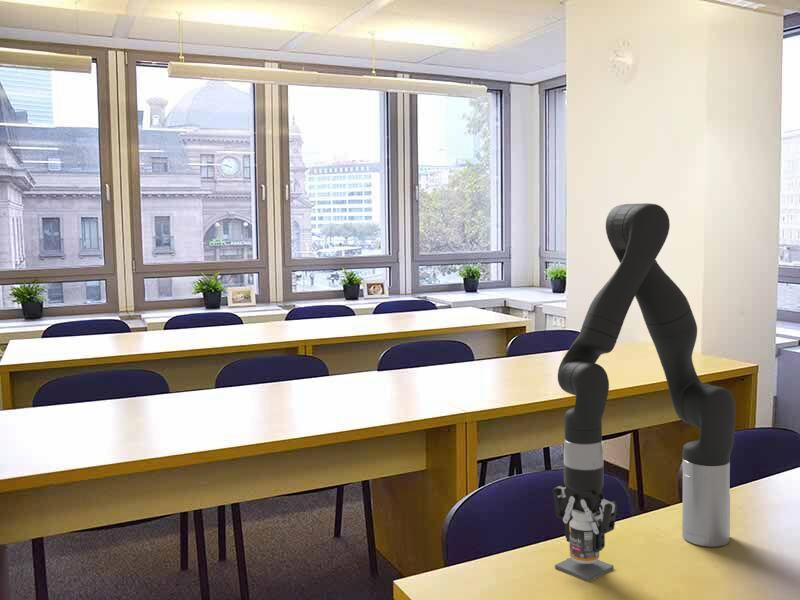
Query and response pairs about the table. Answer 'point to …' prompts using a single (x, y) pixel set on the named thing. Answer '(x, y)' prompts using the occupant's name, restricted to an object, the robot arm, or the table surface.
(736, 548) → the table surface
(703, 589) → the table surface
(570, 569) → the coaster
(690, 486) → the robot arm
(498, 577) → the table surface
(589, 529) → the pill bottle
